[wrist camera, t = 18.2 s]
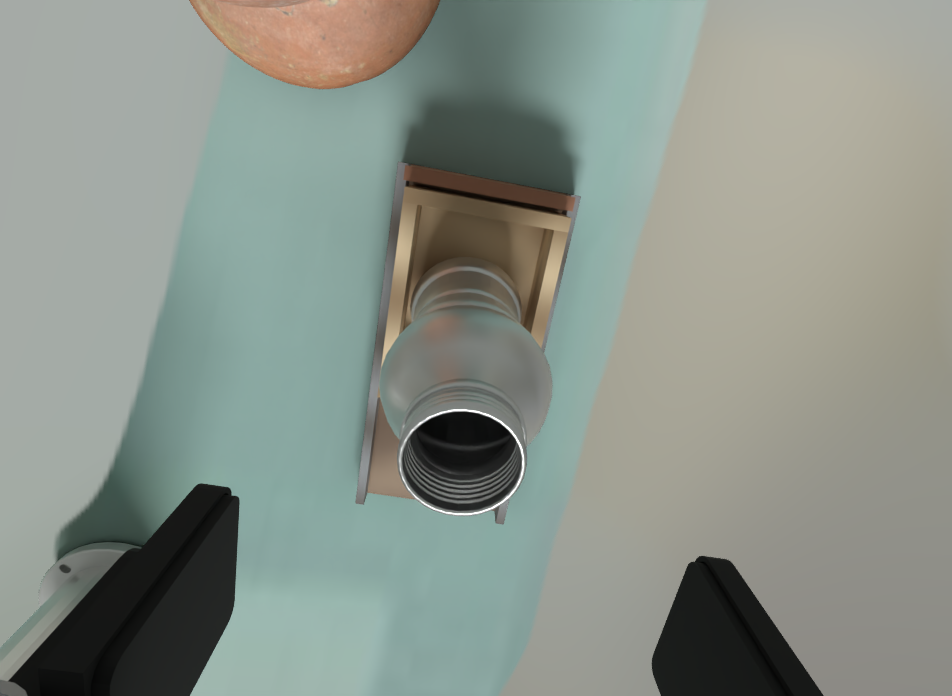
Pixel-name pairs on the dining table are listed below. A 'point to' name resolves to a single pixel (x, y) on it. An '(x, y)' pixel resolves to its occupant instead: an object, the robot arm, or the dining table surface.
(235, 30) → the ceramic jug
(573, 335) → the dining table surface
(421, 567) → the dining table surface
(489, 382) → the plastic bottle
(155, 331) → the dining table surface
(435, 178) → the wooden tray
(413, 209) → the box
